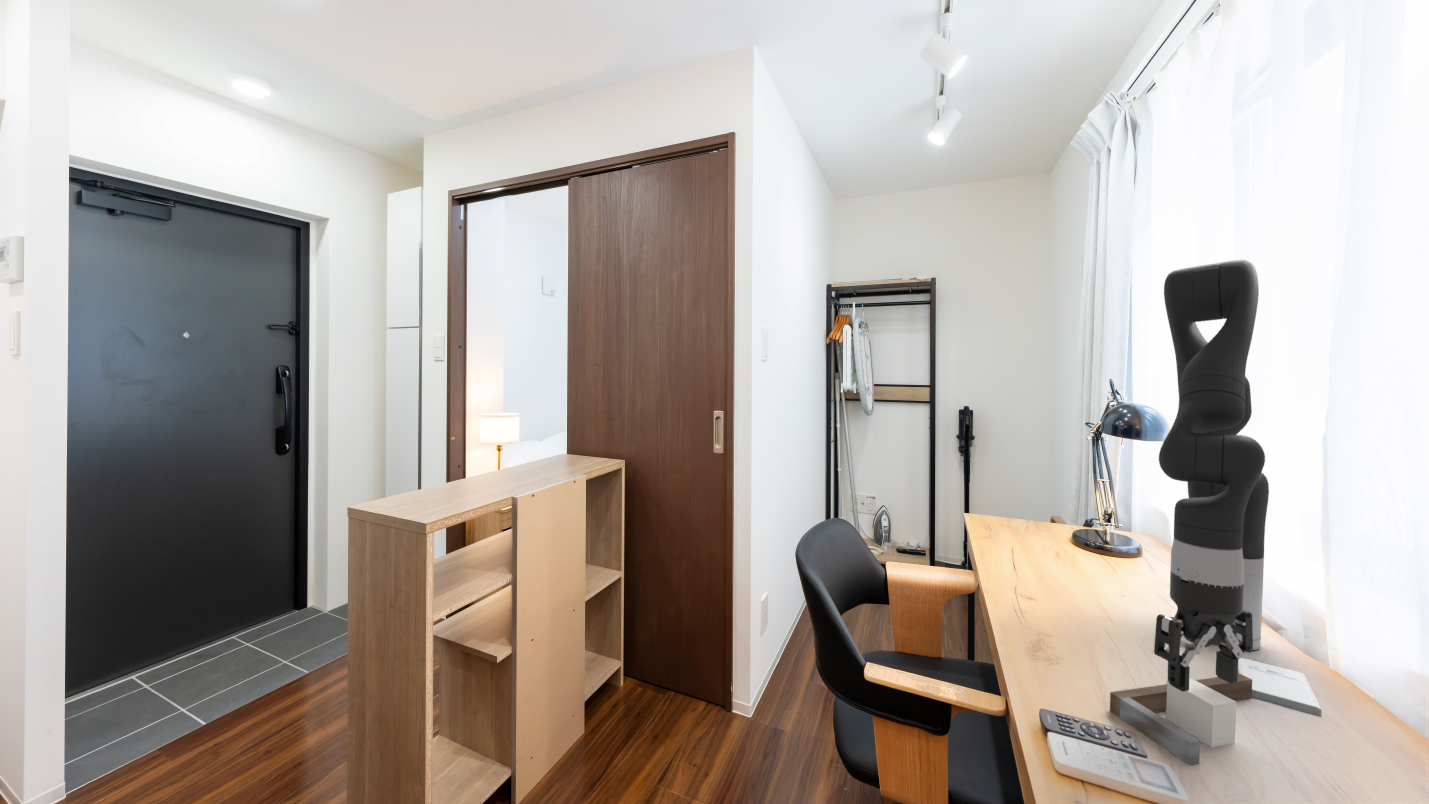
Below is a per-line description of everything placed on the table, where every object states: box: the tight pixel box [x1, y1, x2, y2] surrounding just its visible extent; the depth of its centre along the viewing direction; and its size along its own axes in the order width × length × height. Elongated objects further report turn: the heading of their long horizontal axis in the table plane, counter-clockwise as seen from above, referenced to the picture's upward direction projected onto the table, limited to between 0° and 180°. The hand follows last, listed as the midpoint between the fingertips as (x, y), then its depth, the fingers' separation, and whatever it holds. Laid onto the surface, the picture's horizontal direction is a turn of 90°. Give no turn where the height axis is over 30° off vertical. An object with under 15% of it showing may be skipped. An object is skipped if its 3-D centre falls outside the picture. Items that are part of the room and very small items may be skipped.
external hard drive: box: [1238, 657, 1323, 716], centre depth 84 cm, size 2×8×12 cm
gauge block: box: [1165, 676, 1237, 748], centre depth 74 cm, size 6×4×6 cm, turn 11°
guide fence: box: [1109, 674, 1253, 765], centre depth 75 cm, size 11×25×3 cm, turn 101°
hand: (1202, 683), depth 74 cm, fingers open, 8 cm apart
